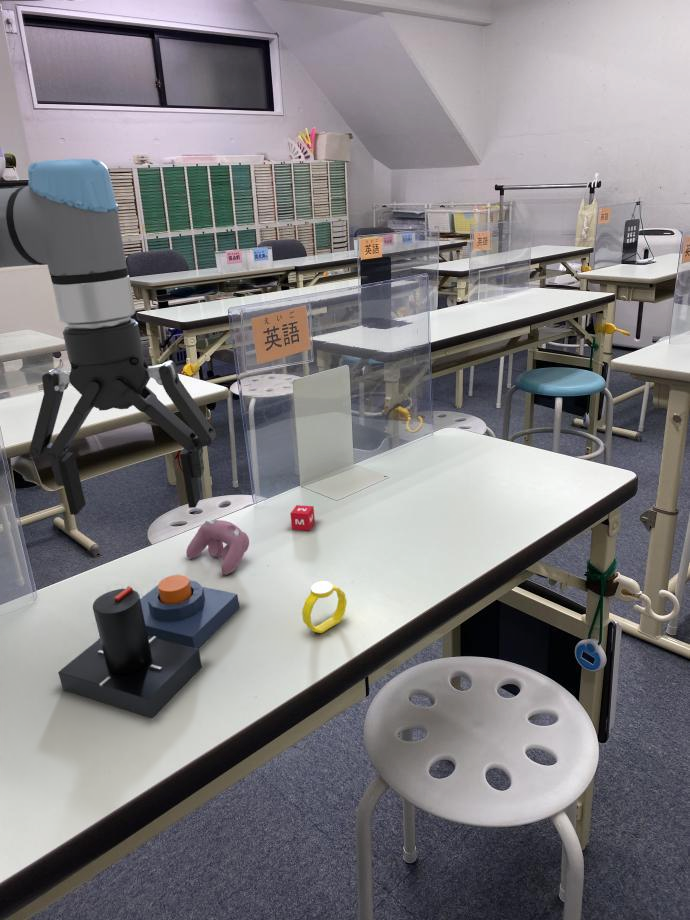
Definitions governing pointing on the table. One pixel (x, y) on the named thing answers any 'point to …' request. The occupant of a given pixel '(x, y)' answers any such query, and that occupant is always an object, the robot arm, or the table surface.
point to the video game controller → (220, 543)
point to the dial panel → (133, 677)
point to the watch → (322, 591)
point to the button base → (188, 615)
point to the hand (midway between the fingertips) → (136, 506)
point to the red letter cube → (302, 517)
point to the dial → (122, 630)
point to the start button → (174, 589)
